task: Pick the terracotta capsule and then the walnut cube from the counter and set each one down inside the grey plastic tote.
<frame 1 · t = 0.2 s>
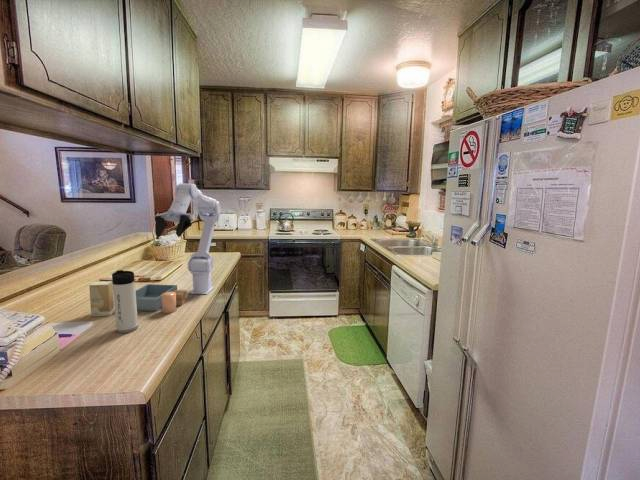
hand: (167, 235, 110), 31 cm above the countertop, tool tilted 45°, fingers open, 7 cm apart
travel mug: (127, 329, 104), on the countertop
terracotta capsule: (169, 310, 120), on the countertop
walnut cube: (179, 303, 128), on the countertop
skincare box: (103, 314, 115), on the countertop
tote: (152, 302, 127), on the countertop
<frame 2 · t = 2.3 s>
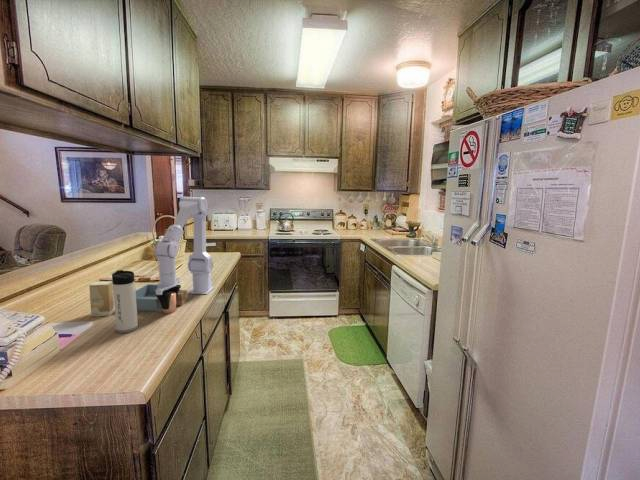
hand: (169, 306, 119), 2 cm above the countertop, tool pointing down, fingers closed on terracotta capsule, 5 cm apart
terracotta capsule: (169, 310, 120), on the countertop, touching gripper
everything else where it was.
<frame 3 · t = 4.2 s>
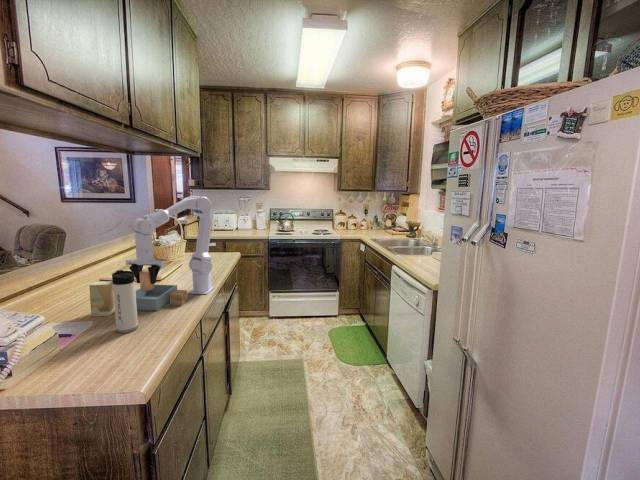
hand: (146, 283, 121), 10 cm above the countertop, tool pointing down, fingers closed on terracotta capsule, 5 cm apart
terracotta capsule: (147, 288, 122), point 7 cm above the countertop, touching gripper
everything else where it was.
when the fingers open (5 cm above the countertop, at t = 5.7 s): terracotta capsule drops 2 cm, resting on tote.
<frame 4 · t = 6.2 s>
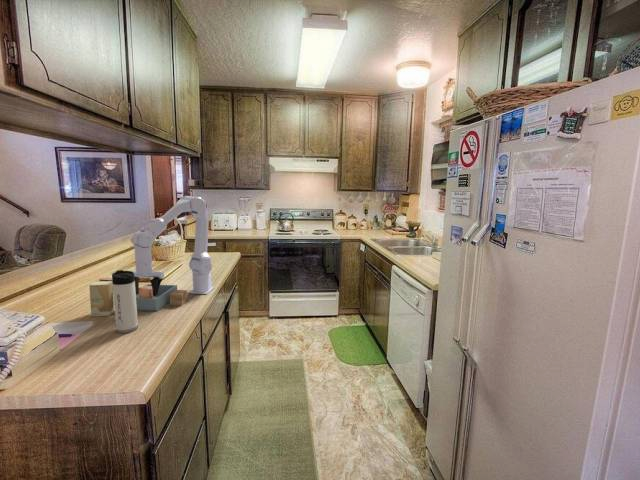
hand: (145, 294, 122), 5 cm above the countertop, tool pointing down, fingers open, 7 cm apart
terracotta capsule: (146, 304, 124), point 1 cm above the countertop, touching tote
everything else where it was.
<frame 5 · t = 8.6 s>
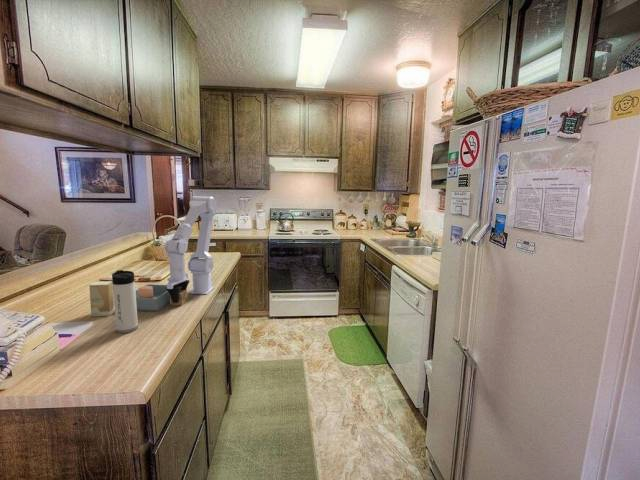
hand: (178, 299, 127), 1 cm above the countertop, tool pointing down, fingers closed on walnut cube, 5 cm apart
walnut cube: (179, 303, 128), on the countertop, touching gripper
everything else where it was.
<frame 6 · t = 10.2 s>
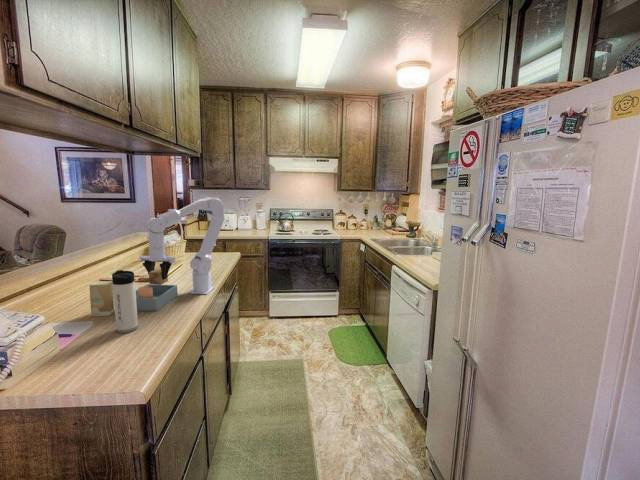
hand: (158, 278, 129), 9 cm above the countertop, tool pointing down, fingers closed on walnut cube, 5 cm apart
walnut cube: (158, 282, 129), point 8 cm above the countertop, touching gripper
everything else where it was.
when the fingers open (4 cm above the countertop, at t = 11.8 s): walnut cube drops 2 cm, resting on tote.
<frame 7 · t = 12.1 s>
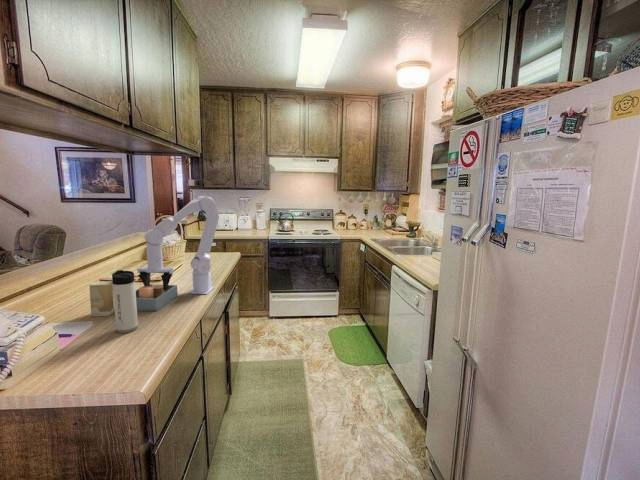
hand: (156, 289, 130), 4 cm above the countertop, tool pointing down, fingers open, 7 cm apart
walnut cube: (157, 297, 131), point 1 cm above the countertop, touching tote
everything else where it was.
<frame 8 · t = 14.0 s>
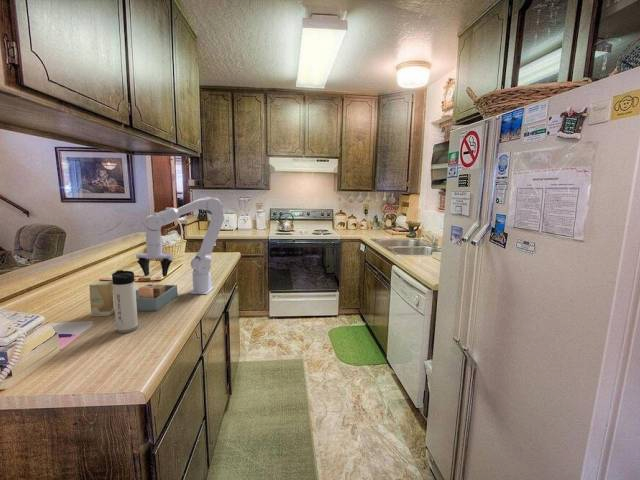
hand: (155, 275, 129), 10 cm above the countertop, tool pointing down, fingers open, 7 cm apart
nothing on the countertop moved.
at the end: terracotta capsule inside the target area on the tote (3.6 cm from its centre), point 0.7 cm above the tote's base; walnut cube inside the target area on the tote (4.1 cm from its centre), point 0.6 cm above the tote's base; the gripper is holding nothing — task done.
